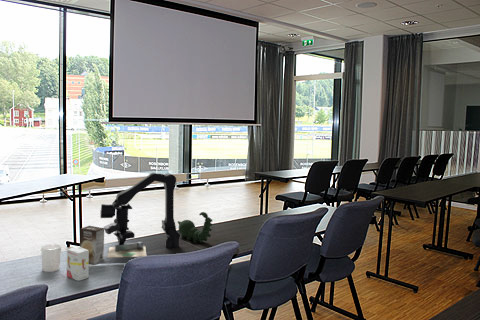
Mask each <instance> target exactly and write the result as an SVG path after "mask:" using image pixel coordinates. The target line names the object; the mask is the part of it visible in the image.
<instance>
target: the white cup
mask: <svg viewBox="0 0 480 320" xmlns="http://www.w3.org/2000/svg"><path fill="white" fill-rule="evenodd" d="M40 251H41V253H40V255H41V269H42V272H45V273H53V272H56V271H59V270H60V266H61V258H62V257H61V255H62V254H61V253H62V245H60V244H54V243H53V244H45V245H43V246H41V247H40Z"/></svg>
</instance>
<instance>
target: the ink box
mask: <svg viewBox="0 0 480 320" xmlns="http://www.w3.org/2000/svg"><path fill="white" fill-rule="evenodd" d="M89 263H90V262H89V251H88V250H86V249H84V248H81V247H80V246H75V247H71V248H67V250H66V277H68V278H70V279H72V280H76V281H83V280H85V279H89V268H90V267H89V265H90V264H89Z"/></svg>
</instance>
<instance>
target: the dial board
mask: <svg viewBox="0 0 480 320" xmlns="http://www.w3.org/2000/svg"><path fill="white" fill-rule="evenodd" d="M146 249H147V248H146V245H143V249H133V250H125V251H117V252H115V246H111V247H108V254H107V258H112V259H113V258H133V257H135V258H136V257H147V250H146Z"/></svg>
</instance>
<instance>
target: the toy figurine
mask: <svg viewBox="0 0 480 320" xmlns="http://www.w3.org/2000/svg"><path fill="white" fill-rule="evenodd" d="M198 216H202V218H204V222H203V226H202V229H201V230H199V229H198V228H197V227H196V225H195V223H194V222H193V220H191V219H184V220H182V221H178V220H177V224H178V233H179V234H180V238H186V240H187V241H191V240H192V242H193V243H195V244H196V243H198V242H199V243H200V244H201V243H203V241H204V242H207V241H208V238H211V237H212V235H211V233H210V232H212V231H213V229H212V228H211V227H213V223H212V222H213V219H212V218H211V217H209V215H208V213H207V212H205V211H202V212H200V213H199V215H198Z"/></svg>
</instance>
